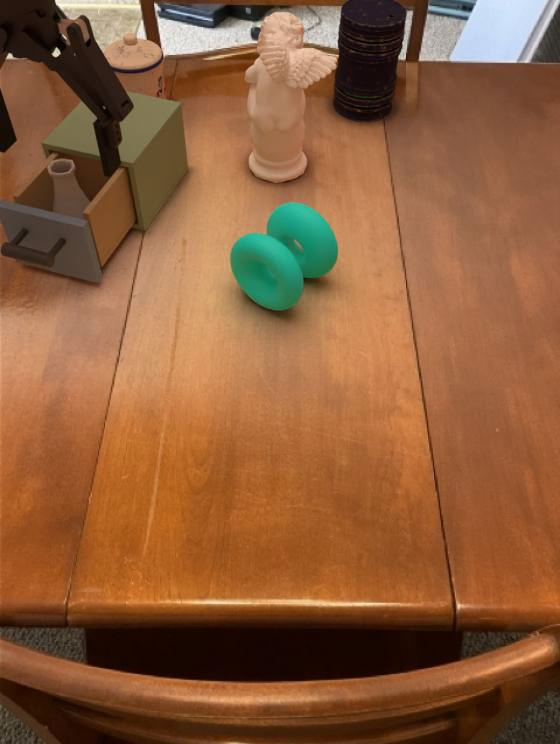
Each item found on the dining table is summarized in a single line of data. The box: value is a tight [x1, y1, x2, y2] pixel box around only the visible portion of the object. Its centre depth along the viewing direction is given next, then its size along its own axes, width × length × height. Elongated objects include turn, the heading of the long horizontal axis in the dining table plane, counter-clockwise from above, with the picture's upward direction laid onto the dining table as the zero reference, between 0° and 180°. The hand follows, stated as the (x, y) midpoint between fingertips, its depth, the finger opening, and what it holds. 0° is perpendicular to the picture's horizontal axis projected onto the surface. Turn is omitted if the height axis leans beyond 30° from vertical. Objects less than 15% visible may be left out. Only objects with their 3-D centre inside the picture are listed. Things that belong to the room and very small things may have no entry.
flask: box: [47, 159, 91, 220], centre depth 83 cm, size 7×7×10 cm
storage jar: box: [332, 0, 408, 123], centre depth 105 cm, size 10×10×15 cm
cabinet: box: [41, 91, 189, 232], centre depth 92 cm, size 15×13×11 cm
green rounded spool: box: [229, 202, 339, 311], centre depth 81 cm, size 10×10×10 cm
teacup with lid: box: [103, 32, 168, 100], centre depth 105 cm, size 12×9×12 cm
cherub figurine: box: [244, 11, 338, 184], centre depth 91 cm, size 12×12×22 cm
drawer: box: [0, 151, 137, 284], centre depth 83 cm, size 18×11×9 cm, turn 161°
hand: (59, 158), depth 78 cm, fingers open, 13 cm apart
